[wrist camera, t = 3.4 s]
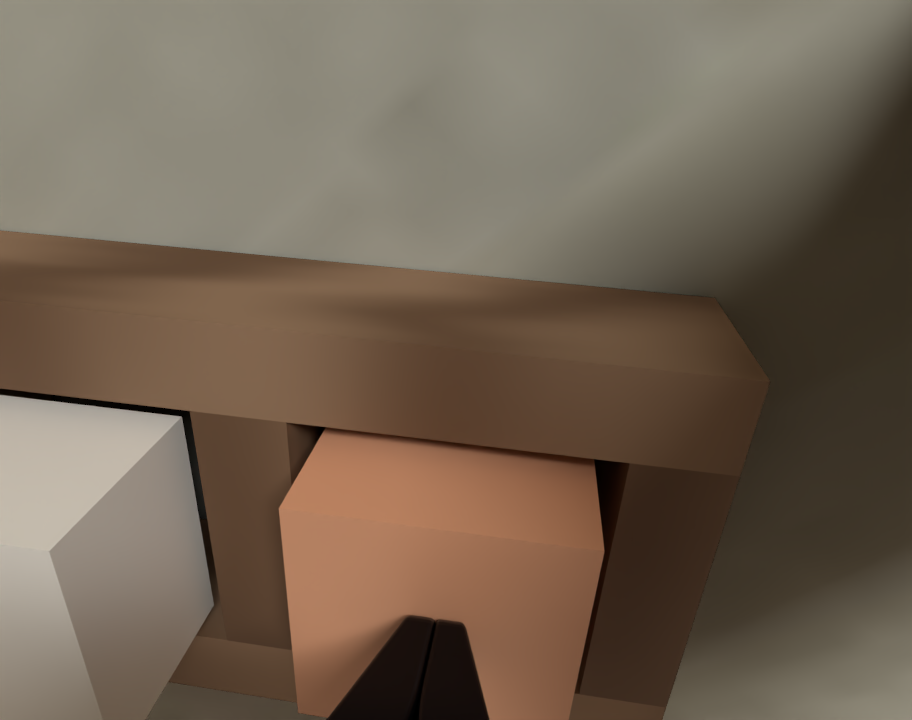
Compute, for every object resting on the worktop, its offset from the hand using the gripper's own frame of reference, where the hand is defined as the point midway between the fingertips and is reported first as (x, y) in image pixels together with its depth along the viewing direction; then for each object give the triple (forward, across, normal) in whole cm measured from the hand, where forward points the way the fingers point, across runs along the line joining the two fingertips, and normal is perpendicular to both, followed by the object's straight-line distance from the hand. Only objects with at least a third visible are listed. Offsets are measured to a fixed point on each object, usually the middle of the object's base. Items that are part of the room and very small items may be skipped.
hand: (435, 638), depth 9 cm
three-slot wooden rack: (+4, +6, 0) cm, 8 cm away
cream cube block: (+2, +7, 0) cm, 7 cm away
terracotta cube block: (+3, 0, 0) cm, 3 cm away
